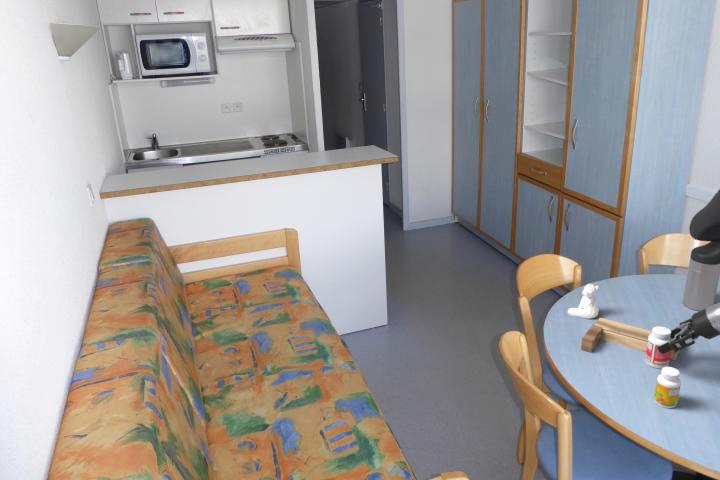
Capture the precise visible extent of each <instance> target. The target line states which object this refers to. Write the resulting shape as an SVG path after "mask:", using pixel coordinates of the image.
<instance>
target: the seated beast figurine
mask: <svg viewBox="0 0 720 480" xmlns="http://www.w3.org/2000/svg"><path fill="white" fill-rule="evenodd" d="M599 289H600V286H599V285H594V284H593V283H587V284H586V285H585V286H584V287H583V290H582V292H581V295H582V297H581V300H580V301H579V302H580V303H579V305H578V307H572V308H571V307H570V308H568V310H567V315H569V316H572V317H577V318H582V319H587V320H592V319H594V318H596V317H597V316H598V315H599V312H600V311H599V307H598V305H597V301H596V297H595V295H596V294H597V291H599Z"/></svg>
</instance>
